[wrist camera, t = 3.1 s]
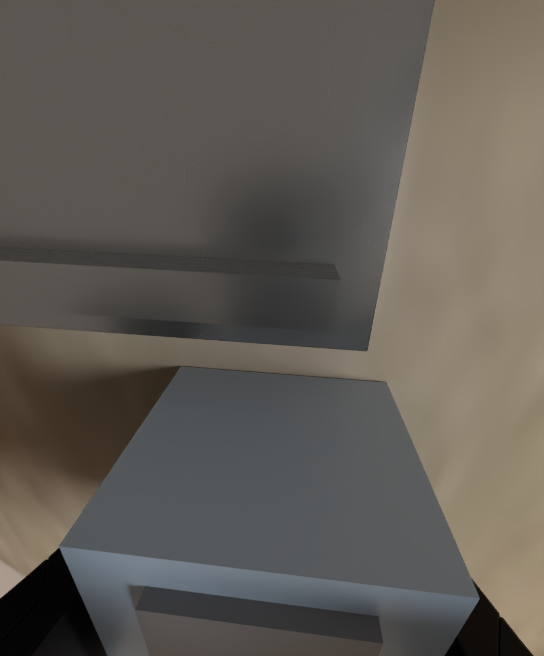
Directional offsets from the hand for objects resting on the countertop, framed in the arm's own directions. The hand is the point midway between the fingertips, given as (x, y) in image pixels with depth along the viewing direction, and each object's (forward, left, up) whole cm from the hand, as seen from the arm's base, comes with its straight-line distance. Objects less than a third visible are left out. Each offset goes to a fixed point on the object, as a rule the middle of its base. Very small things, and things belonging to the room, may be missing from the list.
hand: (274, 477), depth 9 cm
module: (0, 0, -1) cm, 1 cm away
